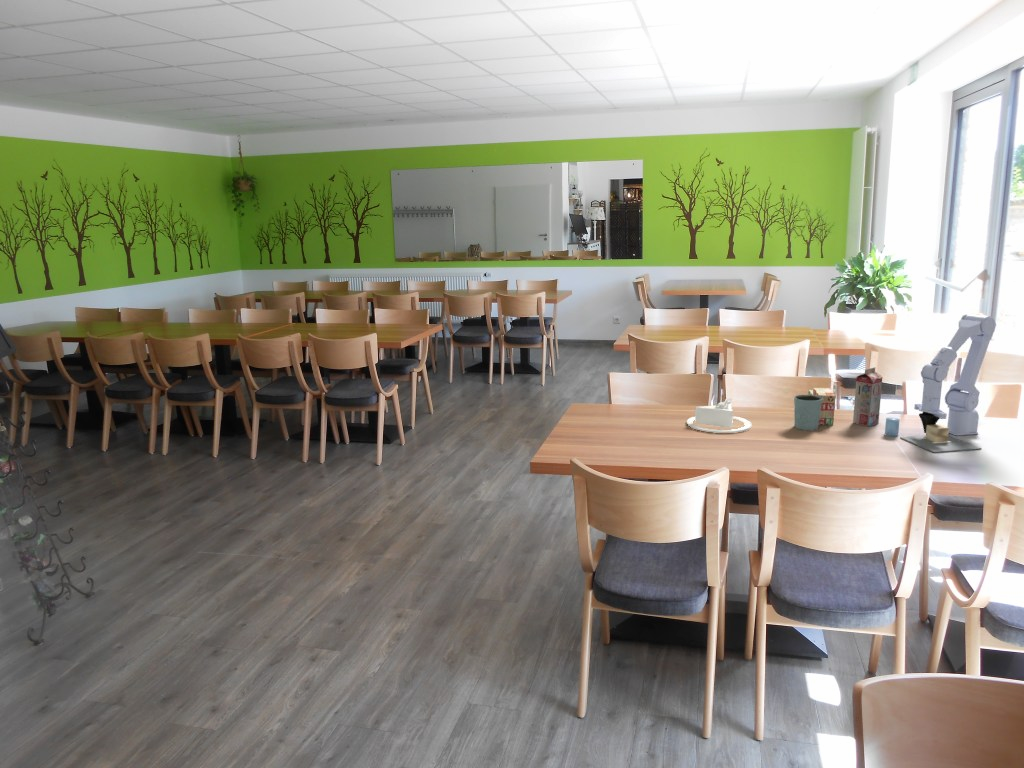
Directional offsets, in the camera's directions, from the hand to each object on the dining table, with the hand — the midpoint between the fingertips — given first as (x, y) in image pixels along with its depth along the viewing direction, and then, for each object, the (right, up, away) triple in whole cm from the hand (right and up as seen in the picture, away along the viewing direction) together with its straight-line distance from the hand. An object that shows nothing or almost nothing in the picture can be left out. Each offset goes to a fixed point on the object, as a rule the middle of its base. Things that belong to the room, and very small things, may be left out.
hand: (927, 433), depth 277 cm
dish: (-70, +1, +23) cm, 74 cm away
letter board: (0, -3, -7) cm, 8 cm away
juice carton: (-13, +2, +21) cm, 25 cm away
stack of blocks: (-27, +4, +30) cm, 41 cm away
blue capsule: (-11, -1, +5) cm, 12 cm away
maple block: (+1, -2, -4) cm, 5 cm away
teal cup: (-38, +1, +17) cm, 42 cm away
